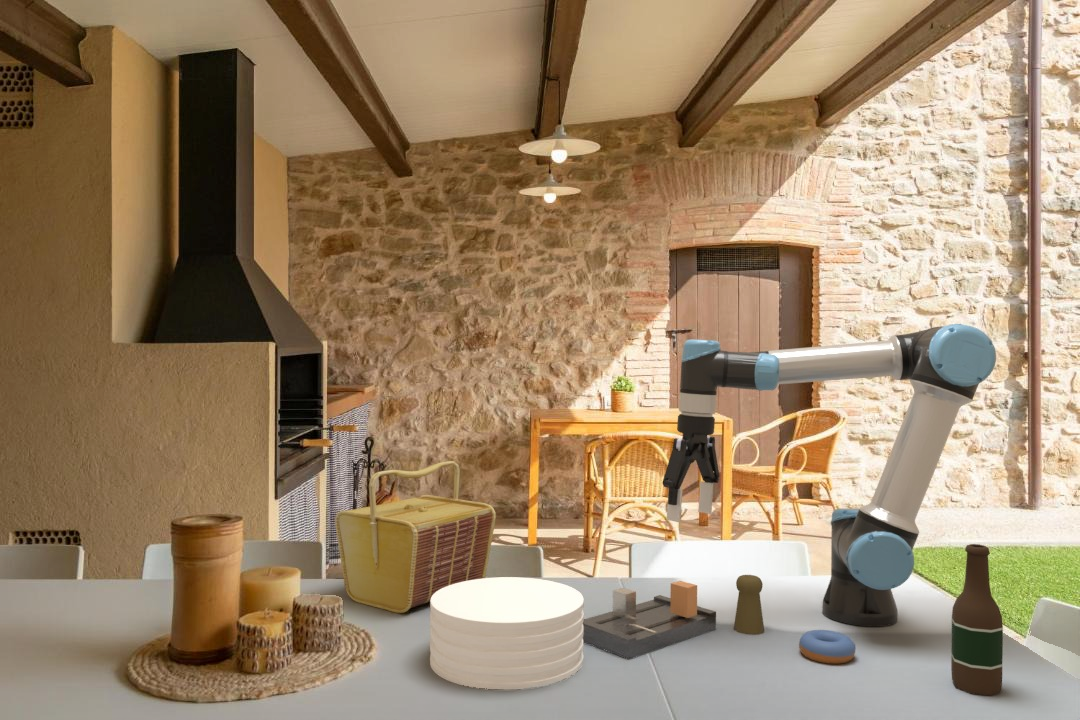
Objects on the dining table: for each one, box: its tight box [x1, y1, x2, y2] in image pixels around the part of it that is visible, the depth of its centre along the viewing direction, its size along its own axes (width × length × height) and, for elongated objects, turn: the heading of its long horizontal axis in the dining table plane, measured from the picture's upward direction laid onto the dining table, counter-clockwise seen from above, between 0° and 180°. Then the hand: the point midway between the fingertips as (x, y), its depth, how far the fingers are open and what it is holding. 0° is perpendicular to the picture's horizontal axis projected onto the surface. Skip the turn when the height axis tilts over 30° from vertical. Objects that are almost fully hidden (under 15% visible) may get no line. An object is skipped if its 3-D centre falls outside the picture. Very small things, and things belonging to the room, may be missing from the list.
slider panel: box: [583, 587, 717, 660], centre depth 165 cm, size 15×26×8 cm, turn 131°
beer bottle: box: [950, 543, 1004, 697], centre depth 139 cm, size 8×8×24 cm
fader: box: [670, 580, 698, 618], centre depth 166 cm, size 4×3×6 cm
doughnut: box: [798, 629, 856, 665], centre depth 153 cm, size 10×10×5 cm
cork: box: [733, 574, 765, 636], centre depth 167 cm, size 6×6×11 cm
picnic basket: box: [334, 460, 497, 614], centre depth 190 cm, size 29×26×30 cm
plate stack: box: [429, 576, 585, 690], centre depth 150 cm, size 28×28×12 cm
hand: (689, 516), depth 170 cm, fingers open, 13 cm apart
